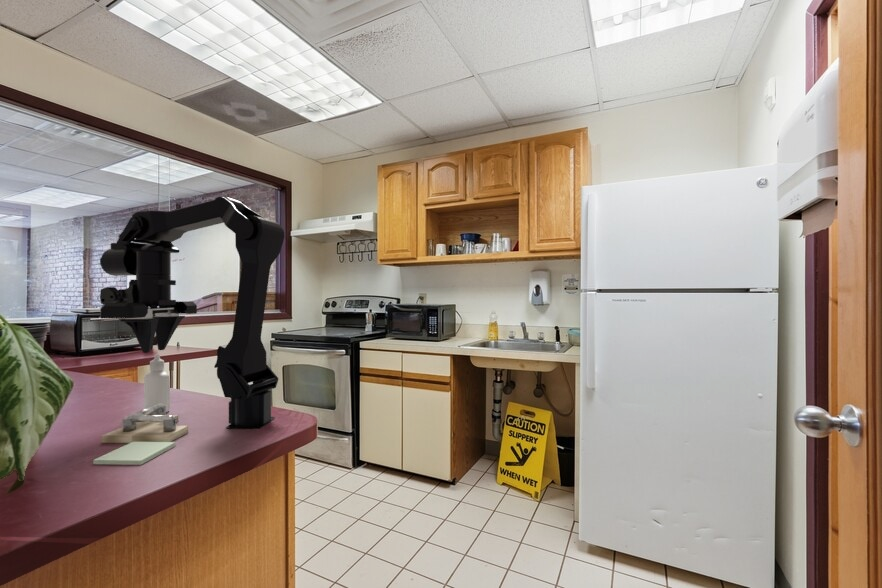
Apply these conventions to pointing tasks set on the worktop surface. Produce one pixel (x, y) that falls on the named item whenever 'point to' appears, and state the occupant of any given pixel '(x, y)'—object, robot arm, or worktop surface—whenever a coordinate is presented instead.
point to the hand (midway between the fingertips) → (153, 351)
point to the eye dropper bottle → (157, 385)
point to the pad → (135, 453)
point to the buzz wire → (147, 427)
